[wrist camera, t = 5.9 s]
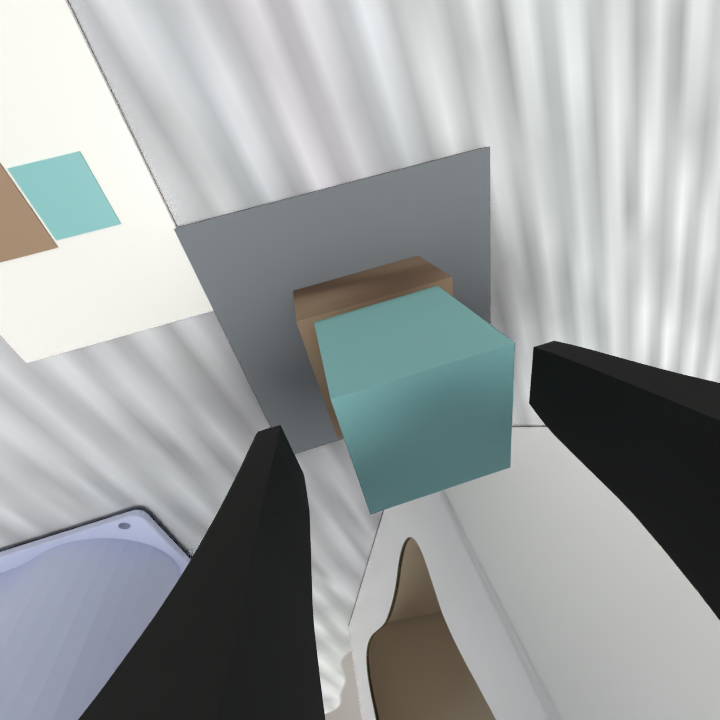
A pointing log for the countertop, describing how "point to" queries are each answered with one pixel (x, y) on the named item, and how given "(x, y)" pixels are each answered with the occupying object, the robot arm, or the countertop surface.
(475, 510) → the gable box
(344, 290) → the walnut block
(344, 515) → the countertop surface
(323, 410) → the build mat
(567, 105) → the countertop surface
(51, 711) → the robot arm
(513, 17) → the countertop surface
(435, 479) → the teal cube
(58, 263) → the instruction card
